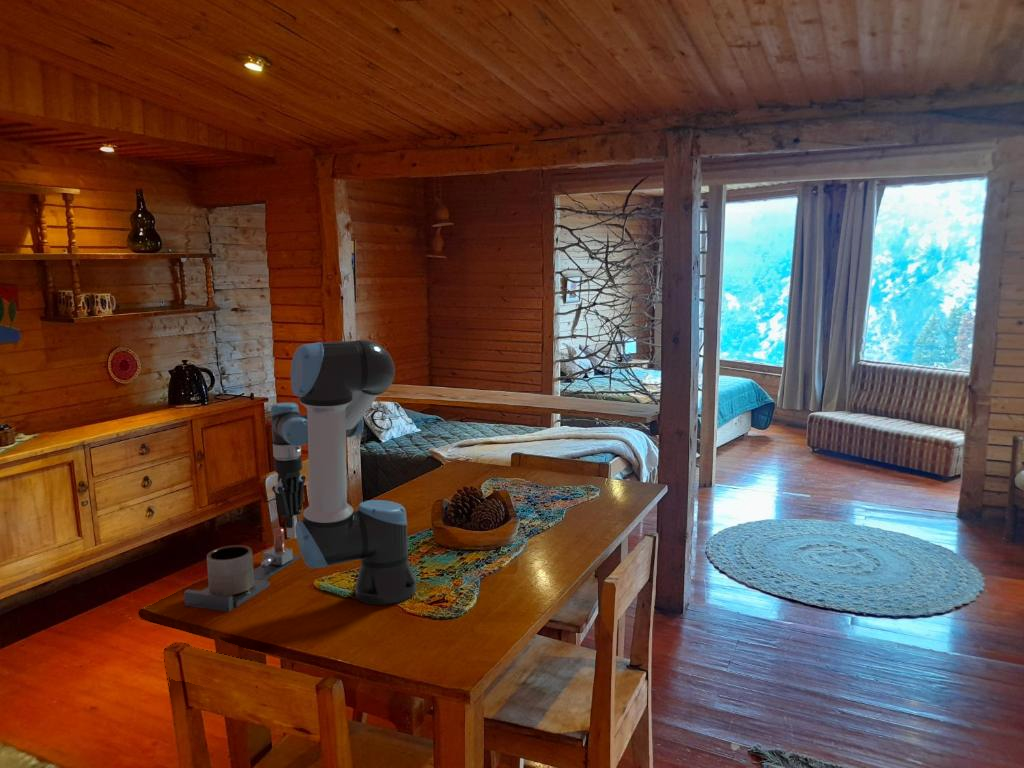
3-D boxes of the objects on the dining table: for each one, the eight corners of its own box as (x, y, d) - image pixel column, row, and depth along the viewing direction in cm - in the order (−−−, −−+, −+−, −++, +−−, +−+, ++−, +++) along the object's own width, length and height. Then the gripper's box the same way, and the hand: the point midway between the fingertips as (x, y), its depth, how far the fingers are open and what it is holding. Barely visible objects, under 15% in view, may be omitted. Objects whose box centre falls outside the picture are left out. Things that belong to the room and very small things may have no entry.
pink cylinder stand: (273, 570, 197) (271, 539, 195) (254, 568, 198) (252, 537, 197) (292, 558, 205) (291, 528, 204) (274, 556, 207) (272, 526, 206)
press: (229, 611, 175) (228, 598, 174) (185, 605, 179) (183, 591, 178) (309, 559, 207) (309, 547, 206) (270, 554, 211) (270, 543, 210)
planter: (257, 591, 183) (255, 555, 182) (211, 601, 178) (208, 563, 177) (251, 576, 192) (249, 541, 191) (207, 585, 187) (204, 549, 186)
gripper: (285, 463, 199) (290, 546, 202) (312, 452, 211) (316, 530, 215) (262, 462, 201) (267, 543, 205) (290, 451, 214) (294, 528, 217)
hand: (292, 537), depth 210 cm, fingers closed
